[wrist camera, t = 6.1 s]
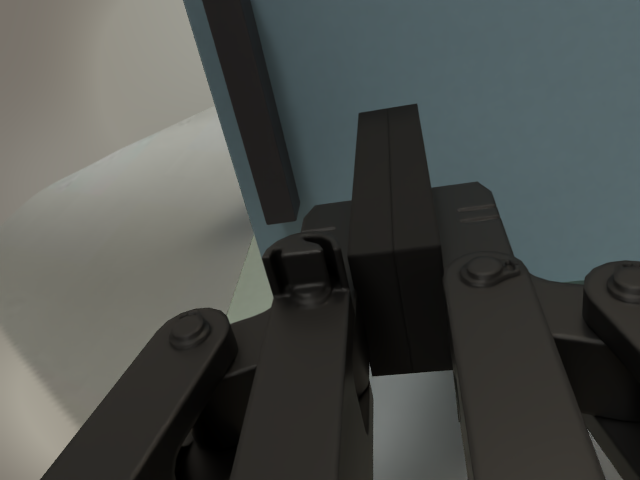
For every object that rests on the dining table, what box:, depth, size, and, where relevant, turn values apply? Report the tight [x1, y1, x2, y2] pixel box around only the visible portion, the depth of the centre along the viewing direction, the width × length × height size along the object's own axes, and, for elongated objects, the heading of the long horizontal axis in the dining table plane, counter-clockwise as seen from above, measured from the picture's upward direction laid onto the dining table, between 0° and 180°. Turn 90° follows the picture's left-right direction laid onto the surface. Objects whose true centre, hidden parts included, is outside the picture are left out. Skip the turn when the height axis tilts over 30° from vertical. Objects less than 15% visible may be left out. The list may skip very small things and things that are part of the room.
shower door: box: [183, 0, 640, 285], centre depth 16 cm, size 13×2×16 cm, turn 86°
